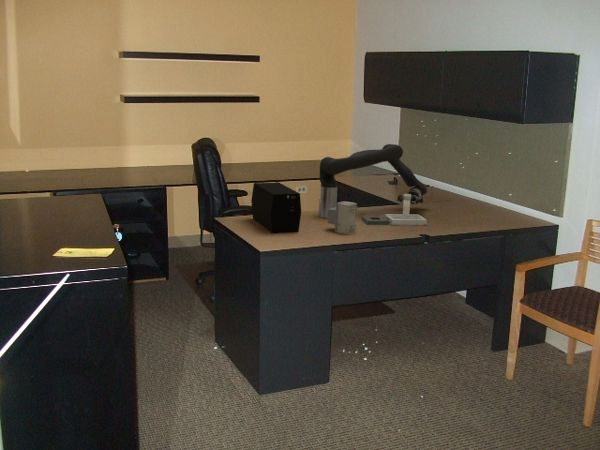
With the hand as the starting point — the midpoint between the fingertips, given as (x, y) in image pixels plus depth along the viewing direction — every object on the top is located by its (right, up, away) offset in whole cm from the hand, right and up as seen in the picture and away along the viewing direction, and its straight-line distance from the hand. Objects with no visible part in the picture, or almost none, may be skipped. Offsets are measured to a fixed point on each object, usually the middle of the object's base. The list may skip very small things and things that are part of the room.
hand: (408, 201), depth 367 cm
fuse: (-2, -11, -2) cm, 11 cm away
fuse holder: (-19, -11, -4) cm, 23 cm away
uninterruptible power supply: (-73, -14, -21) cm, 77 cm away
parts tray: (-2, -12, -2) cm, 12 cm away
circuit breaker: (-40, -16, -26) cm, 50 cm away
